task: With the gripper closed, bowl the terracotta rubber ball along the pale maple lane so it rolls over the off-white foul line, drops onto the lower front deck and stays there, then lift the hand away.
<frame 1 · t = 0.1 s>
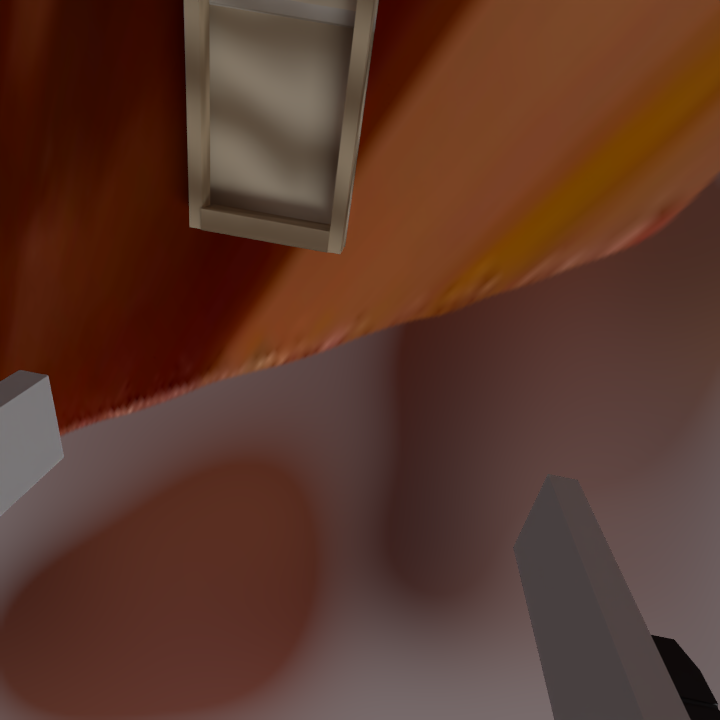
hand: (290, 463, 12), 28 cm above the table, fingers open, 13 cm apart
lane: (283, 79, 32), on the table
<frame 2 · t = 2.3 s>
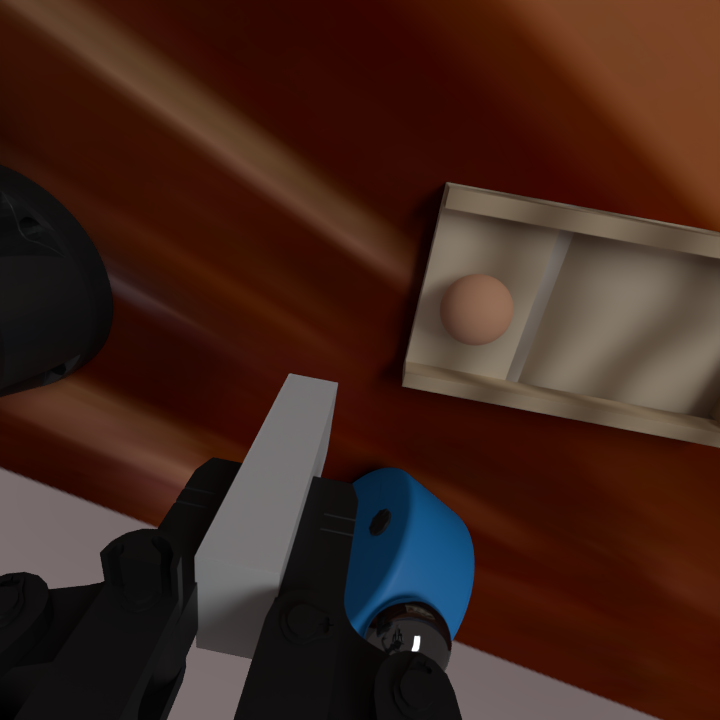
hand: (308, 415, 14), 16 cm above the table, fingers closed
lane: (596, 315, 28), on the table
alarm clock: (379, 496, 37), on the table
ball: (475, 310, 25), point 3 cm above the table, touching lane
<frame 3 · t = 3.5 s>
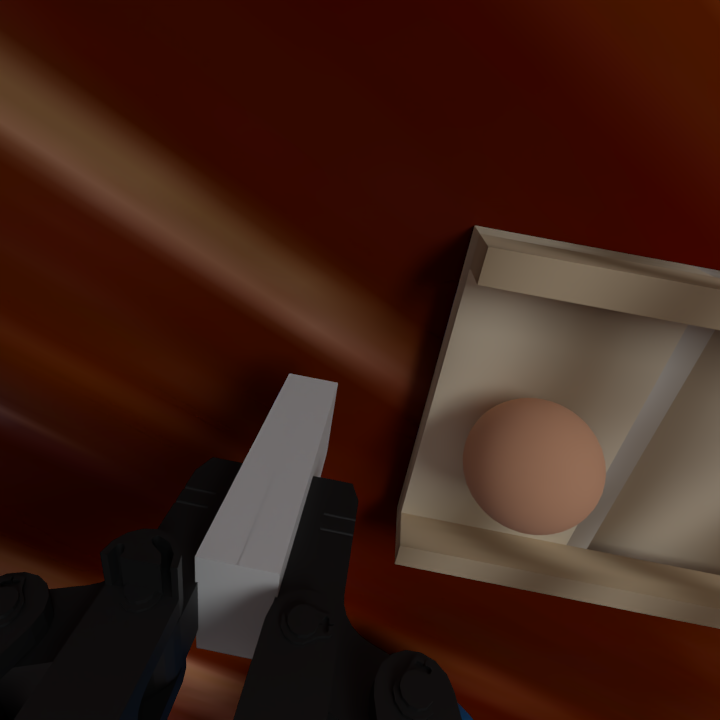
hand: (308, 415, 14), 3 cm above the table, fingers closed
ball: (530, 464, 13), point 3 cm above the table, touching lane
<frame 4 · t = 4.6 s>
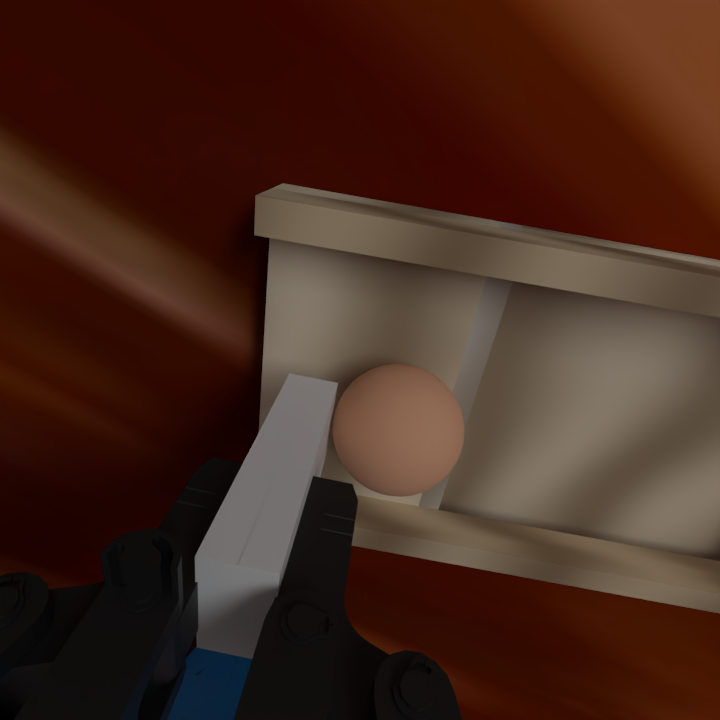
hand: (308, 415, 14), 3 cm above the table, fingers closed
lane: (563, 406, 16), on the table
alarm clock: (264, 637, 25), on the table
ball: (397, 428, 14), point 3 cm above the table, tilted 49°, touching lane
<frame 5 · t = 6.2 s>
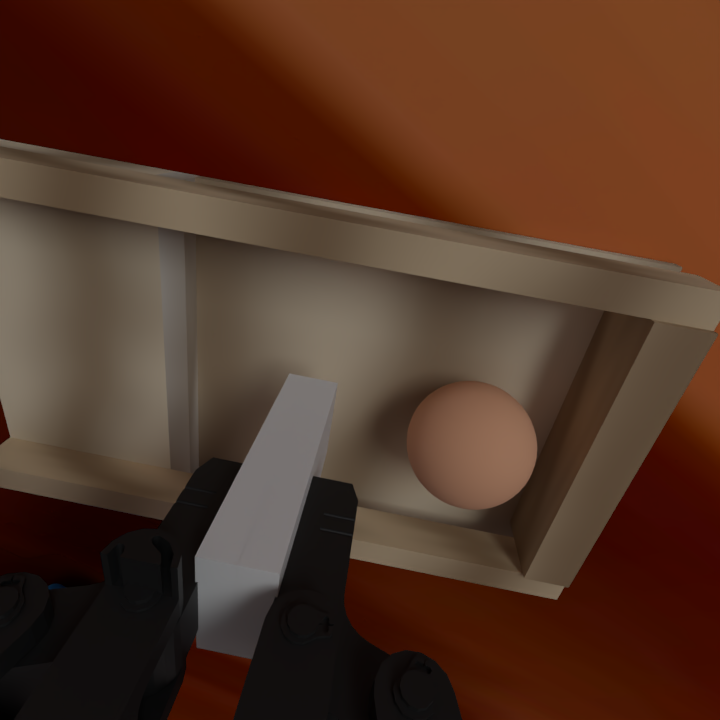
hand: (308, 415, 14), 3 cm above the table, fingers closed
lane: (297, 367, 16), on the table
ball: (469, 443, 14), point 2 cm above the table, tilted 54°, touching lane
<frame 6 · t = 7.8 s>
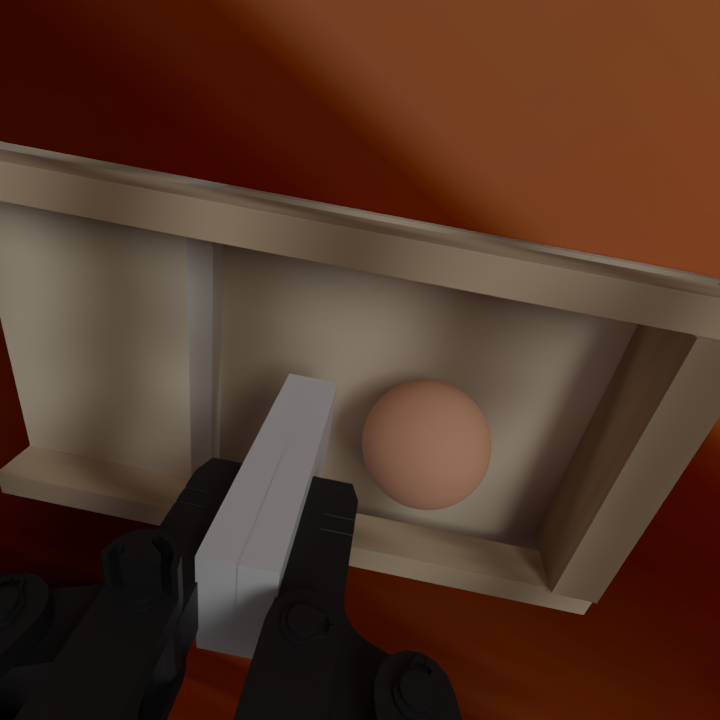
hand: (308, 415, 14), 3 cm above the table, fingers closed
lane: (321, 377, 16), on the table
ball: (425, 443, 14), point 2 cm above the table, tilted 14°, touching lane
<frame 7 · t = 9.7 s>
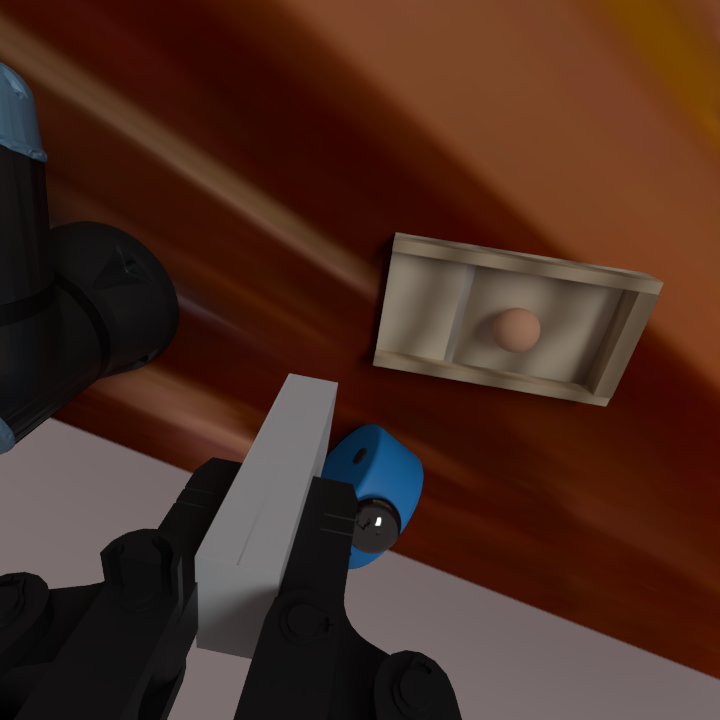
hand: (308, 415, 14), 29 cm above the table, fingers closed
lane: (501, 316, 42), on the table
alarm clock: (364, 449, 51), on the table
ball: (516, 330, 40), point 2 cm above the table, tilted 94°, touching lane
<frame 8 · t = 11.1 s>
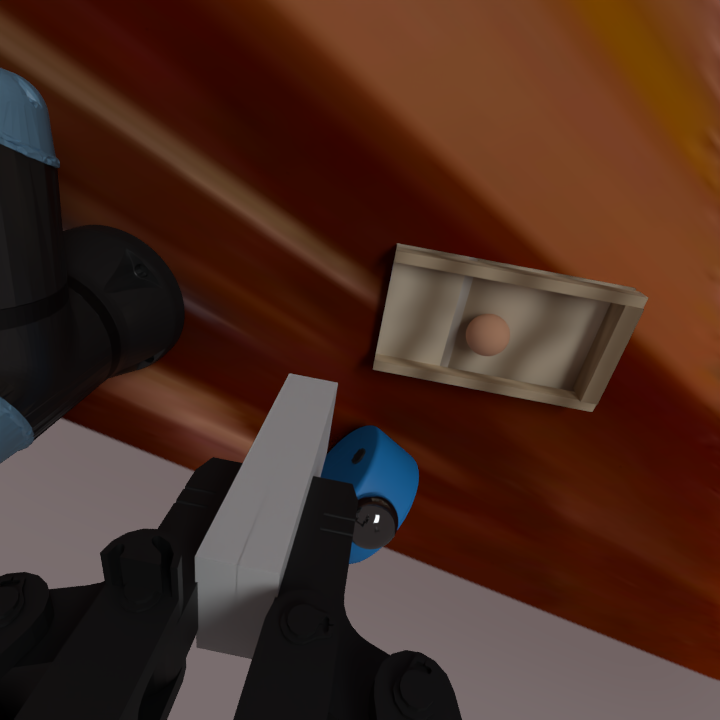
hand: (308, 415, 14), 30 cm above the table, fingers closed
lane: (495, 324, 44), on the table
alarm clock: (361, 449, 53), on the table
ball: (487, 335, 42), point 2 cm above the table, tilted 154°, touching lane
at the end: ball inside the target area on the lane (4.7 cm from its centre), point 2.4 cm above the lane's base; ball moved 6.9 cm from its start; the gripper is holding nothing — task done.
